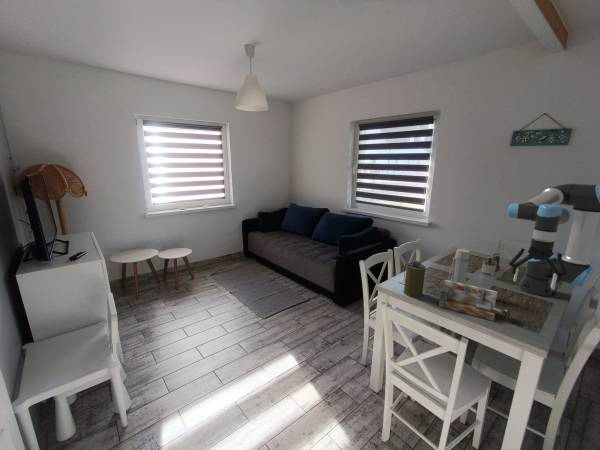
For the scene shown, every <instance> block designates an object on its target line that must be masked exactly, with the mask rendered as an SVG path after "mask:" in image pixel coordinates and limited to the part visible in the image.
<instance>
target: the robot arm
mask: <svg viewBox="0 0 600 450" xmlns="http://www.w3.org/2000/svg"><path fill="white" fill-rule="evenodd" d="M561 205H563V207H562V206H561ZM564 206H571V207H572V209H571V210H572V211H573V213H575V214H574V217H573V222H572V225H571V230H570V233H569V238H568V241H567V246H566V248H565V249H566V250H565V254H564V255H562V253H561V252H559V251H558V252H553V251H554V245H555V242H554V241H556V238H557V235H558V234H557V233H558V229H559V226H560V225H564V224H566V223H568V222H569V221H570V220H571V219H572V211H571V210H570V209H569V208H566V207H564ZM507 208H508V209H507V216H508V217H509V218H512V219H516V220H517V219H518V220H525V221H531V222H535V224H534V227H533V231H532V232H533V233H532V235H531V236H532V238H531V239H530V246H529V247H528V248H526V247H524V246H521V247H520V249H519V251H518V252H517V253H516V254H515V255H514V256H513V258H511V260H509V262H508V266H510V267H512V271H511V273H512V275H514V276H513V282H514V283H515V282H517V277H518V273H519V267H520V266H522V265H524V264H525V263H527V264H526V268H525V273H524V276H523V278H521V280H520V282H519V283H518V288H519V289H520V290H521V291H523V292H526V293H527V294H532V295H536V296H542V297H550V296H552V293H553V291H554V290H555V288H556V284H557V283H558V284H559V283H560V282H563V283H566V284H569V285H574V286H578V287H583V286H585V285H587V284H588V283H589V281H590V279H591V278H592V276H593V274H594V271H595V268H594V267H593V266H591V262H590V261H589V259H588V258H589V254H590V251H591V247H592V243H593V241H594V237H595V233H596V228H597V224H598V221H599V217H600V184H585V183H584V184H581V183H580V184H579V183H563V184H558V185H555V186H551V187H549V188H546V189H544V190H542V192H541V193H540V194H538V195H536V196H535V197H532V198H530V199H528V200H526V201H524V202H522V203H519V202H514V203H513V202H512V203H511V204H509V206H508V207H507ZM527 252H528V254H527V255H526V256H524V258H522V259H520V258H521V256H522V255H524V254H525V253H527ZM519 259H520V260H519ZM551 279H552V280H551Z"/></svg>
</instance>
